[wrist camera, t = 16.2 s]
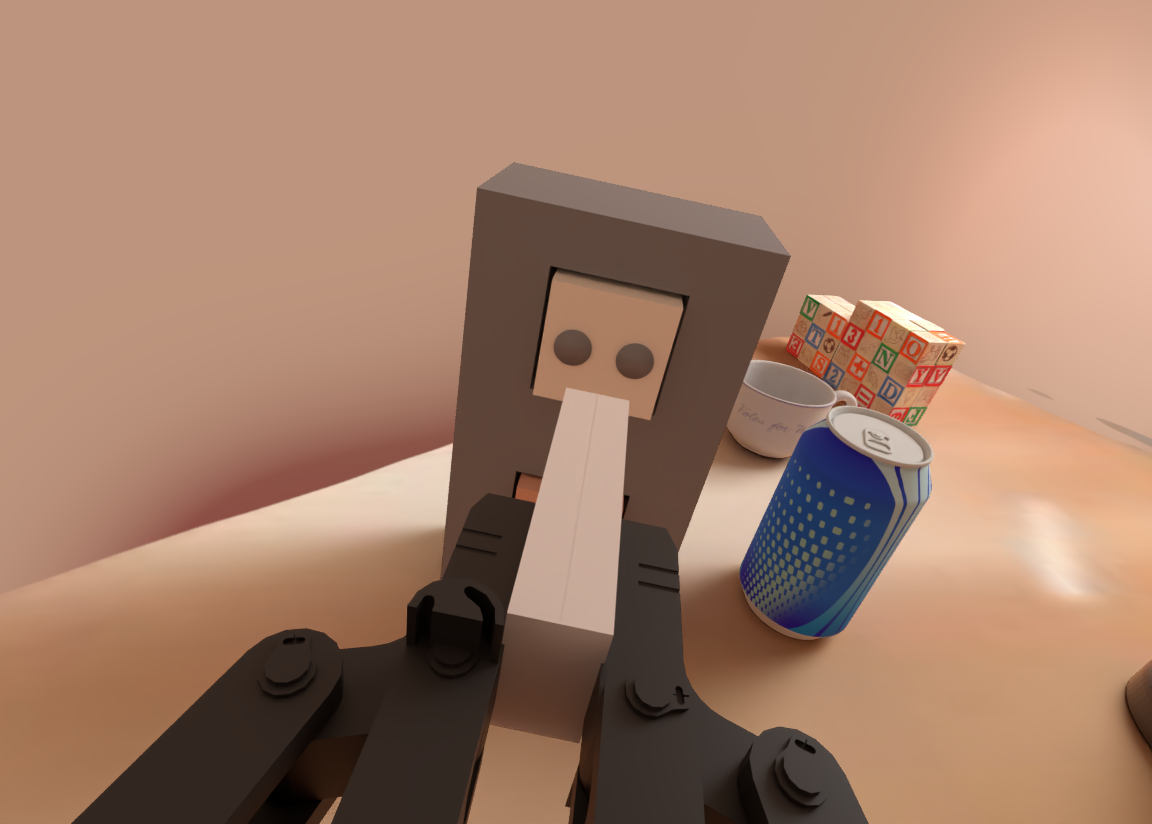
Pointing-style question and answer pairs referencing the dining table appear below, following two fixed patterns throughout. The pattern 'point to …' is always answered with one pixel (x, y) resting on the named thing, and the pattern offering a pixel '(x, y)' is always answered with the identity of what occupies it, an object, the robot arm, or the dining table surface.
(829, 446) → the beer can
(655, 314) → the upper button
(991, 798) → the dining table surface
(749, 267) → the button post
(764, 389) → the teacup
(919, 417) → the stack of blocks
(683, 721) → the robot arm
